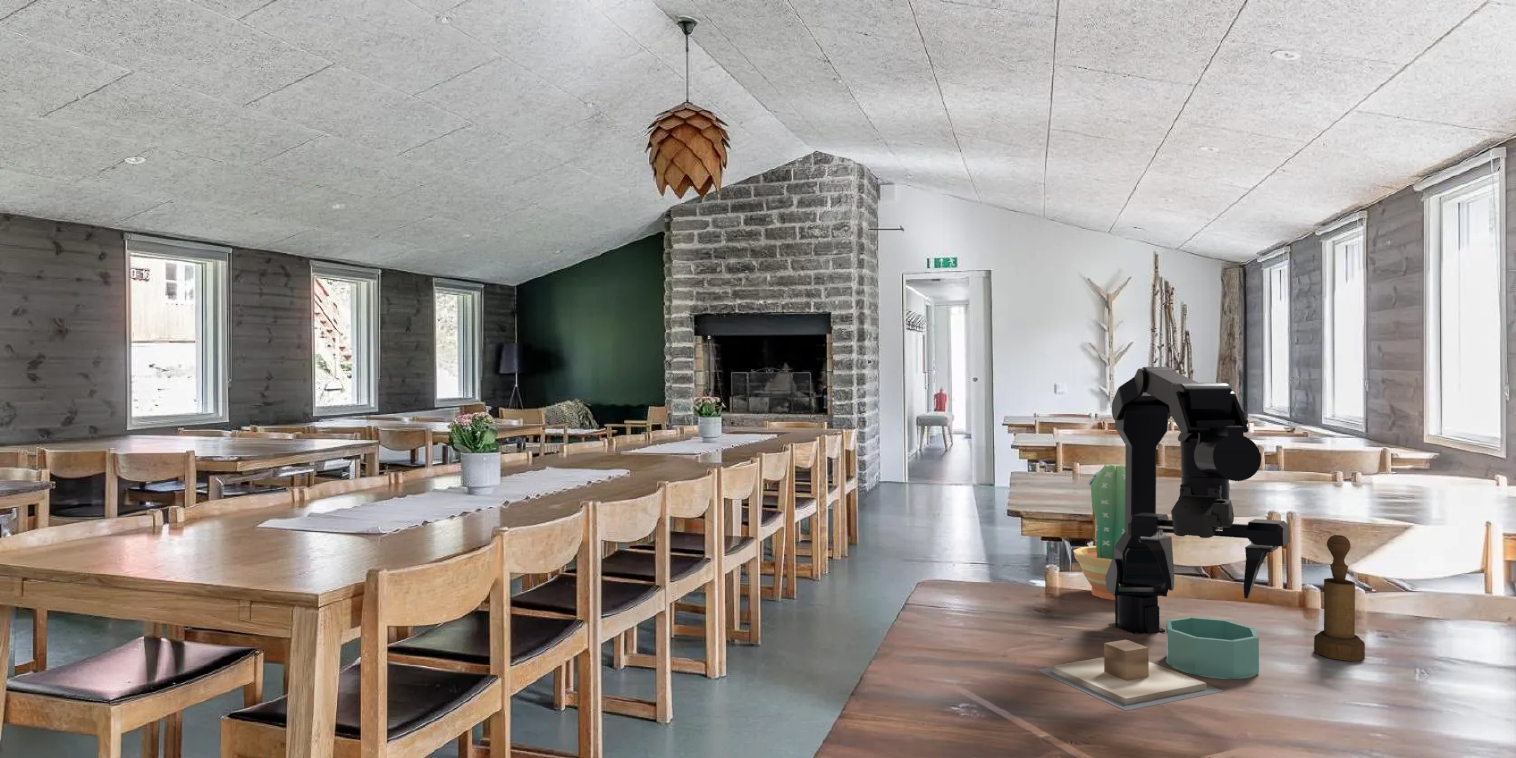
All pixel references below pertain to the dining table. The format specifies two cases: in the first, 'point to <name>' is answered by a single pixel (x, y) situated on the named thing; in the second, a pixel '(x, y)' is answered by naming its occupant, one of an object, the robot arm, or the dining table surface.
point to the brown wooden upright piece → (1339, 609)
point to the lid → (1127, 675)
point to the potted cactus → (1104, 527)
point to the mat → (1135, 705)
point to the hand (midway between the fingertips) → (1208, 593)
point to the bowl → (1212, 648)
